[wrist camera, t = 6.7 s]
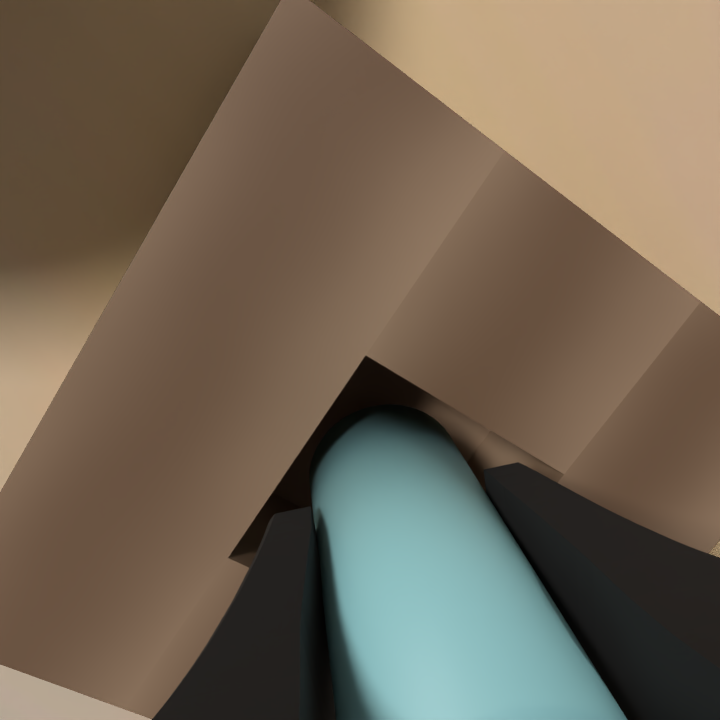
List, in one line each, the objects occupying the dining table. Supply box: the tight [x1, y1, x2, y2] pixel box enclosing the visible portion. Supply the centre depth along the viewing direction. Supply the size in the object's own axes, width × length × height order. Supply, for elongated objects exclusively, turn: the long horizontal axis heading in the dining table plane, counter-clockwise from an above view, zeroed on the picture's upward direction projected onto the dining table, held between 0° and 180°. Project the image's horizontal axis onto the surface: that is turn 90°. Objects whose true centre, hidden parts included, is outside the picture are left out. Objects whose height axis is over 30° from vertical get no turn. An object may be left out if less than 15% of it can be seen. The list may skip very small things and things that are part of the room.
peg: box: [309, 404, 627, 720], centre depth 9 cm, size 3×3×7 cm
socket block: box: [0, 0, 720, 719], centre depth 13 cm, size 12×12×4 cm
